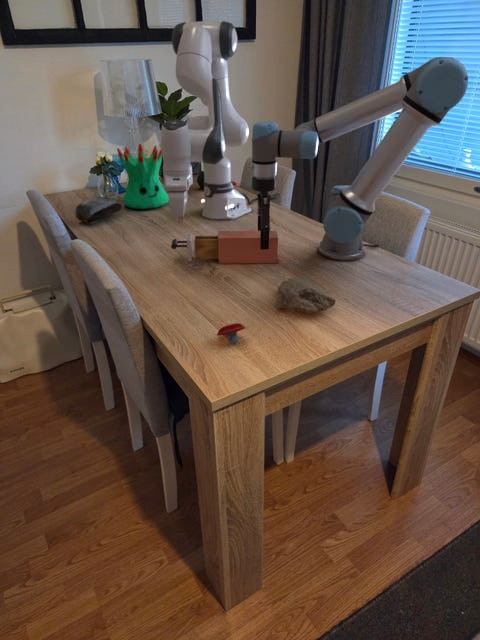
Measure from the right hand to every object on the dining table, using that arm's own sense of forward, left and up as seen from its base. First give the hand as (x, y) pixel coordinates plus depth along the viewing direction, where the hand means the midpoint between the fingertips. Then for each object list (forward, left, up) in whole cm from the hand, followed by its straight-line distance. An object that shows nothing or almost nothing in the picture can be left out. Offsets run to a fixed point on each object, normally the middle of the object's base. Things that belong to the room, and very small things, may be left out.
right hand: (262, 241), depth 149 cm
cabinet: (+5, -1, -7) cm, 8 cm away
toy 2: (+6, -89, -7) cm, 89 cm away
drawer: (+18, -3, -6) cm, 19 cm away
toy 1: (+39, -69, -7) cm, 79 cm away
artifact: (-4, +32, -7) cm, 33 cm away
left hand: (+27, -4, +7) cm, 28 cm away
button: (+19, +47, -7) cm, 51 cm away
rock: (+58, -51, -7) cm, 77 cm away
